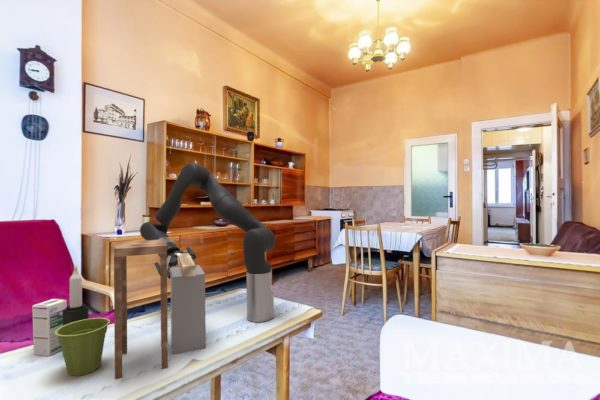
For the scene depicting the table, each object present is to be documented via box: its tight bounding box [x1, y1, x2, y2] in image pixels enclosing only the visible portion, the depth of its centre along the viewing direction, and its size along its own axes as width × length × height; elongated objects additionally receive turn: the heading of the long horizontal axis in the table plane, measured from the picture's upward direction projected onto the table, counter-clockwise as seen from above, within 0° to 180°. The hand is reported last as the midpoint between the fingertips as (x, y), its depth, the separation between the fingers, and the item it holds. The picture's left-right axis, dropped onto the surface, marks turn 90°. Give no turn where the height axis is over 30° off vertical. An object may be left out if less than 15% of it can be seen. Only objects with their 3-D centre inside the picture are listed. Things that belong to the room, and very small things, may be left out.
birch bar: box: [177, 253, 197, 277], centre depth 100 cm, size 4×24×3 cm, turn 25°
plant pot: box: [55, 317, 111, 377], centre depth 81 cm, size 12×12×11 cm
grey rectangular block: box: [170, 264, 207, 355], centre depth 97 cm, size 9×14×22 cm, turn 25°
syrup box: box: [31, 298, 68, 357], centre depth 91 cm, size 6×6×14 cm
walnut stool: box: [113, 239, 169, 380], centre depth 86 cm, size 12×15×32 cm
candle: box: [63, 265, 90, 326], centre depth 90 cm, size 5×5×25 cm
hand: (183, 271), depth 114 cm, fingers open, 8 cm apart
